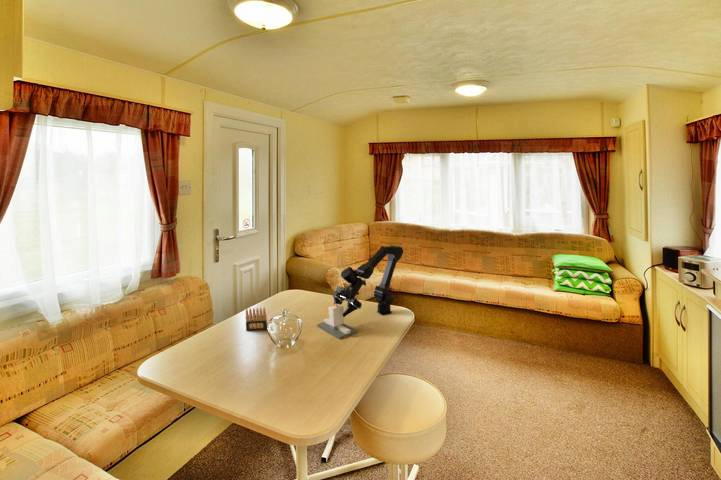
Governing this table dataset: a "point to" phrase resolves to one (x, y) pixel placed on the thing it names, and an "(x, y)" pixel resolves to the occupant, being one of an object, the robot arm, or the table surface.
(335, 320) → the block
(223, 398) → the table surface
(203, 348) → the table surface
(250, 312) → the ammunition clip
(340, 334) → the mounting board
